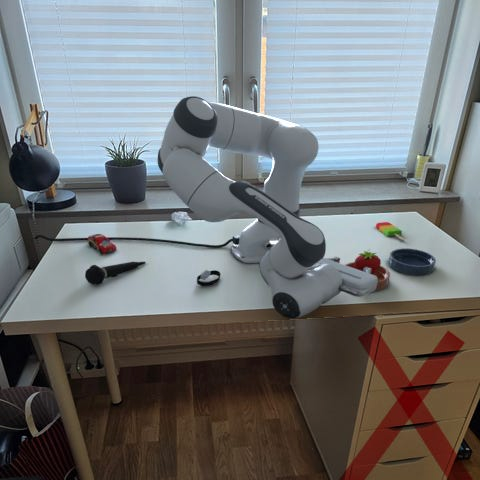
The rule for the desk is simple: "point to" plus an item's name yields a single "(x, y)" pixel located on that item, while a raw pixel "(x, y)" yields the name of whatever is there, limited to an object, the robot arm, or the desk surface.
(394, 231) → the popsicle
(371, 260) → the strawberry
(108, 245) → the race car
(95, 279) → the microphone
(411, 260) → the slate bowl
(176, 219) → the crumpled paper
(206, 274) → the watch
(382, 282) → the terracotta bowl
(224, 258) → the desk surface
